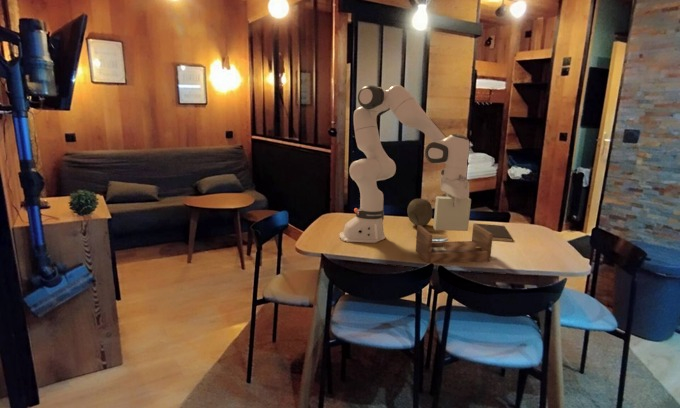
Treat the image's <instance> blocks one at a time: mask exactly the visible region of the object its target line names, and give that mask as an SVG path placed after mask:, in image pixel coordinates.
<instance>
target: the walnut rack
mask: <svg viewBox="0 0 680 408" xmlns="http://www.w3.org/2000/svg"><path fill="white" fill-rule="evenodd" d="M477 224H478V223H475V224H474V223H473V225H472V235H471V241H473V242H474V243H476V249H474V251H473V252H432V251H433V248H437V247H443V242H444V241H433V234H432V233H431V232H430V231H428V229H426V228H425V226H421V225H417V227H416V228H417V229H416V242H415V243H416V244H415V252H416V253H417V254H418V255H419V256H420V257H421V258H422V259H423V260H424V262H426V264H443V263H444V264H445V263H475V262H476V263H480V262H491V255H492V247H493V244H492V243H493V240H492V238H493V234H492V233H490V232H489V231H487V230H485V229H484V228H482V227H480V226H479V225H477Z"/></svg>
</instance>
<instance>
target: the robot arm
mask: <svg viewBox="0 0 680 408" xmlns="http://www.w3.org/2000/svg"><path fill="white" fill-rule="evenodd" d="M357 102H358V104H359V105H360V106H359V107H357V108H356V109H355V110H354V111H353V130H354V136H355V141H356V146H357V149H358V150H359V151H361V152H362V153H363V154H364V155H365V156H366V158H360V159H358V160H354V161H352V162H351V163H350V166H349V169H348V170H349V173H348V174H349V176H350V178H351V179H352V181H354V182H355V183H356V185H357V187H358V189H359V193H360V194H359V195H360V197H359V200H360V202H359V203H360V205H359V206H360V207H359V208H357V207H355V208H354V209H353V211H354V213H355V216H353V218H351V219H350V220H348V221H347V222H346V223H345V224H344V228H343V231H340V232H339V235H338V236H339V239H340V238H341V239H340V240H341V241H342V242H345V241H346V242H348V243H349V242H351V243H371V244H373V243H374V244H376V243H378V242H379V241H382V240H384V239H386V236H385V232H384V220H385V219H384V217H385V216H384V215H385V210H384V193H383V191H381V190H380V189H379V188H378V185H377V182H378V181H385V180H387V179H390V178H392V177H393V176H395V174H396V170H397V165H396V163H395V161H394V160H393V159H392V158H390V157H389V156H388V154H387V153H386V151H385V149H384V148H383V145H382V143H381V137H380V135H379V133H380V132H379V129H378V124H377V116H379V117H381V116H382V115H383V114H385V113H386V112H389V111H391V112H392V113H393V115H394V116H395V117H396V119H397V120H398V121H399V122H400V123H401V124H402V125H404V126H405V127H408V128H413V129H416V130H418V131H420V132H421V133H423V134H424V135H425V136H426V137H427V138H428V139H429V141H430V143H428V144H427V146H426V147H425V151H424V154H425V159H426V160H427V161H428V162H429V163H431V164H434V165H439V164H445V167H444V168H442V169H441V170H440V183H439V184H440V187H439V188H440V191H441V192H443V193H446V195H447V197H455V202H454V203H453V206H454V207H459V202H460V201H461V200H467V199H468V198H470V182H469V181H468V178H467V174H468V159H469V156H470V141H469V138H468V137H467V136H465V135H463V134H458V133H455V134H454V133H451V134H450V135H449V136H447V135H446V134H445V133H444V132H443V131H442V130H441V129H440V127H439V126H438V125H437V124H436V123H435V122H434V121H433V120H432V119H431V117H429V116H428V114H427V113H426V112H425V110H424V109H423V108H422V106H420V104H419V103H418V101H417V100H416V99H415V98H414V96H413V95H412V94H411V93H410V92H409V91H408V90H407V89H406V88H405V87H403V86H402V85H401V84H395V85H392V86H391V87H389V88H387V89H385V88H384V87H381V86H375V85H371V84H370V85H365V86H363V87H362V88H360V89H359V91H358V94H357Z"/></svg>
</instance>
